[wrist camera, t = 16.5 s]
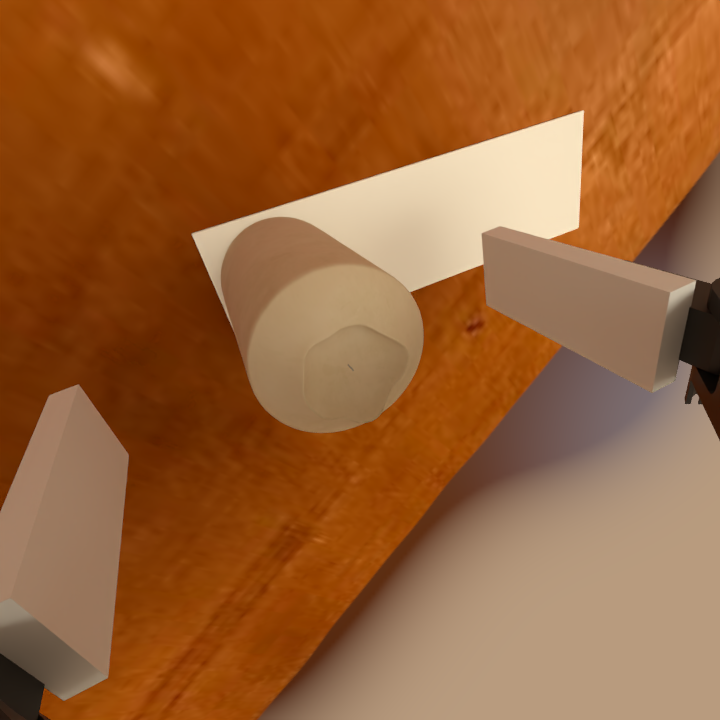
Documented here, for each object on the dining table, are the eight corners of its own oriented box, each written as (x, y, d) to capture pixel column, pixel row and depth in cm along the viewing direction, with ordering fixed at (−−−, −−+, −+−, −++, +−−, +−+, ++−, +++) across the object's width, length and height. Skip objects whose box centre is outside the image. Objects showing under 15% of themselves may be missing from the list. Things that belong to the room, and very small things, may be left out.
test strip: (243, 353, 21) (244, 355, 21) (191, 233, 18) (191, 234, 18) (575, 227, 25) (578, 227, 25) (580, 110, 22) (584, 110, 22)
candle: (320, 198, 19) (433, 246, 11) (351, 308, 22) (459, 414, 14) (197, 239, 18) (218, 329, 10) (247, 350, 21) (295, 491, 13)
